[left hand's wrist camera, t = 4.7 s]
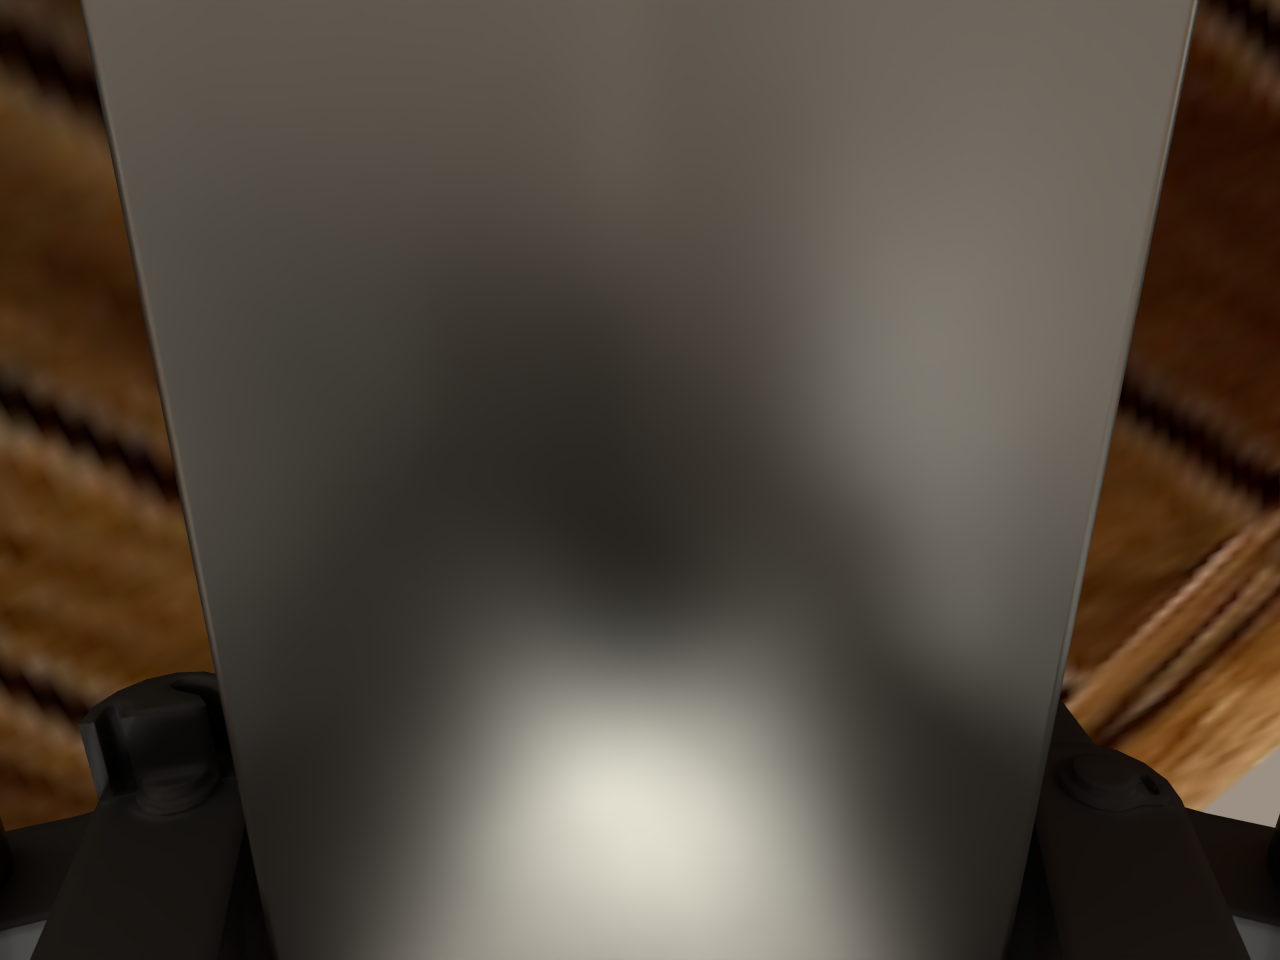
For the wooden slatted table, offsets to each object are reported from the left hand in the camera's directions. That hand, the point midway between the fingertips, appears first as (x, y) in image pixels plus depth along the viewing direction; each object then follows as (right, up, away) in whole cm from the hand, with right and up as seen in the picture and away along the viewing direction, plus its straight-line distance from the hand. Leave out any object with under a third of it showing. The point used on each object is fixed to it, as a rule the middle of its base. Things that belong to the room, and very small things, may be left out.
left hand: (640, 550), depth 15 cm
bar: (0, +7, -2) cm, 8 cm away
